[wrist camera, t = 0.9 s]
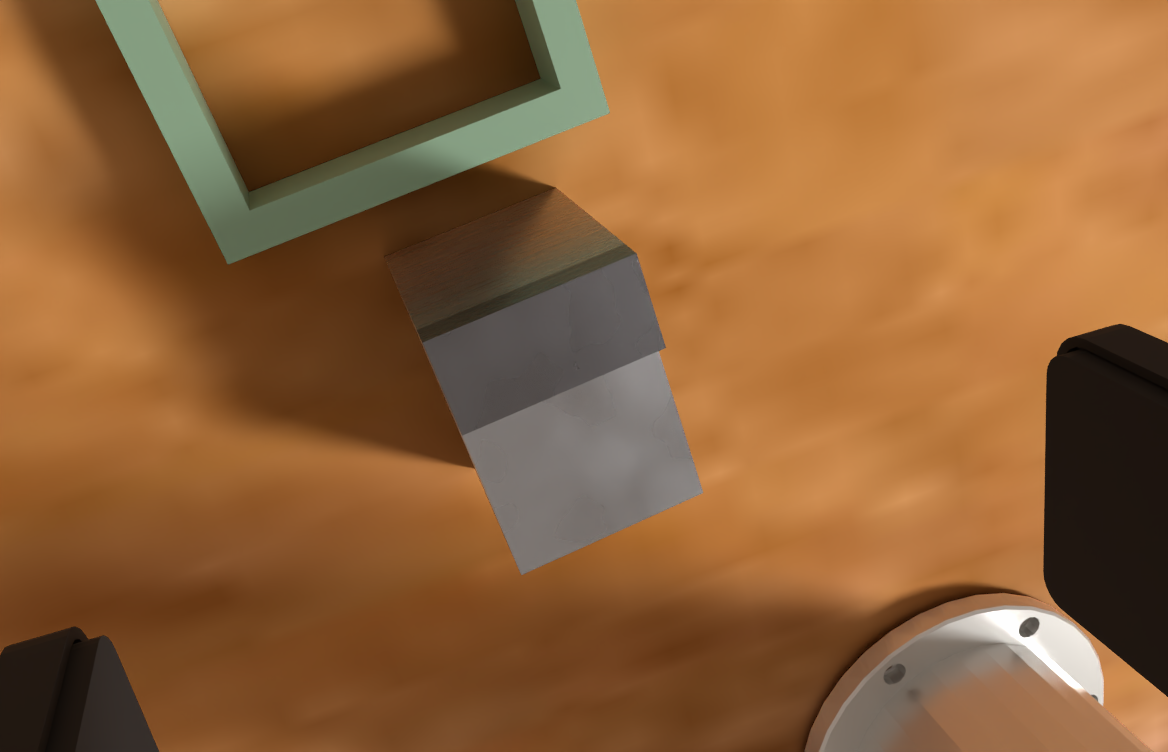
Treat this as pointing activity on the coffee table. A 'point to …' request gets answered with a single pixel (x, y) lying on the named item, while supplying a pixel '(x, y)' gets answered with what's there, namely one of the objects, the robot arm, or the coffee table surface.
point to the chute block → (550, 373)
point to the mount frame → (369, 171)
